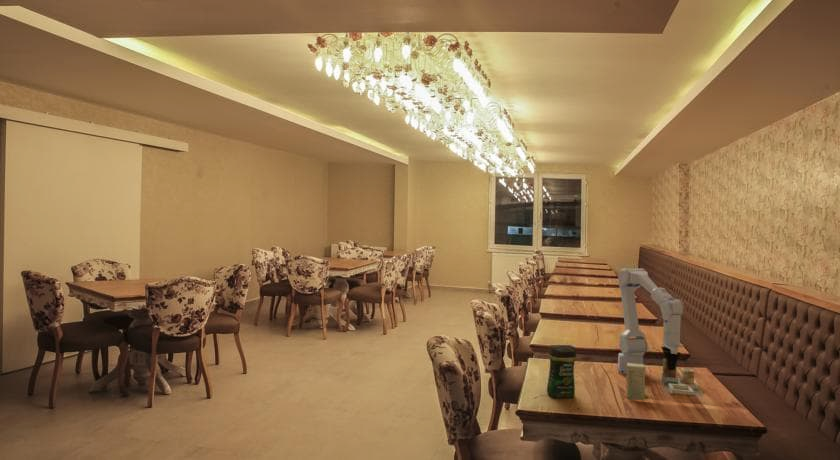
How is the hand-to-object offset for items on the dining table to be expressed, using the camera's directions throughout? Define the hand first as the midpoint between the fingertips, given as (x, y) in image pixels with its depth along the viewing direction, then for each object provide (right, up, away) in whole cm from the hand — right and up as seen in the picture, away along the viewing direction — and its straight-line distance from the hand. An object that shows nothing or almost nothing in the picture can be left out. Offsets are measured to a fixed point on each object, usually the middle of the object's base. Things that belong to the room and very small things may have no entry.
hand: (670, 368), depth 204 cm
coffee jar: (-42, -9, -4) cm, 43 cm away
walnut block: (0, -3, 0) cm, 3 cm away
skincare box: (-15, -10, -5) cm, 19 cm away
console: (+4, -8, +8) cm, 12 cm away
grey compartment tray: (+6, -9, +3) cm, 11 cm away
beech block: (+9, -8, +6) cm, 14 cm away
